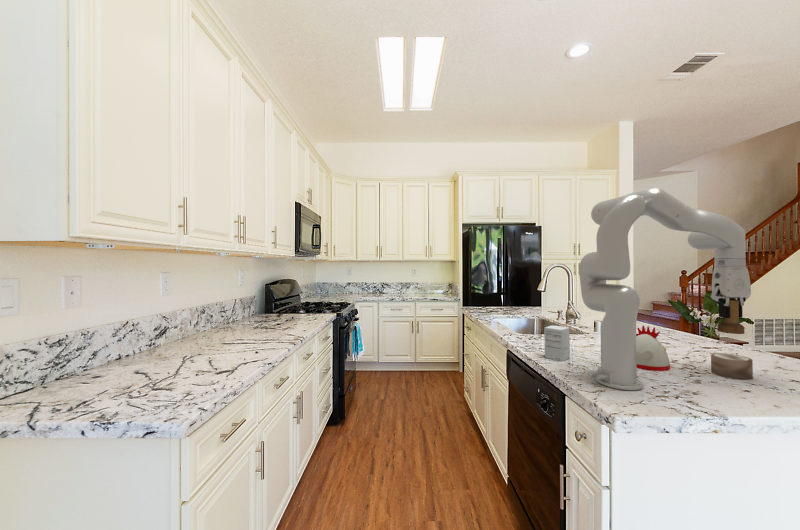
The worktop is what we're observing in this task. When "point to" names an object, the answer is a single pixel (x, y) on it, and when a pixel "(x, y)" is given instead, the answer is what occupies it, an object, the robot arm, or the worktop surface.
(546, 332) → the supplement box
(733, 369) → the display pedestal
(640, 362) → the kitchen timer
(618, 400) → the worktop surface
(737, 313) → the brown wooden turned piece
